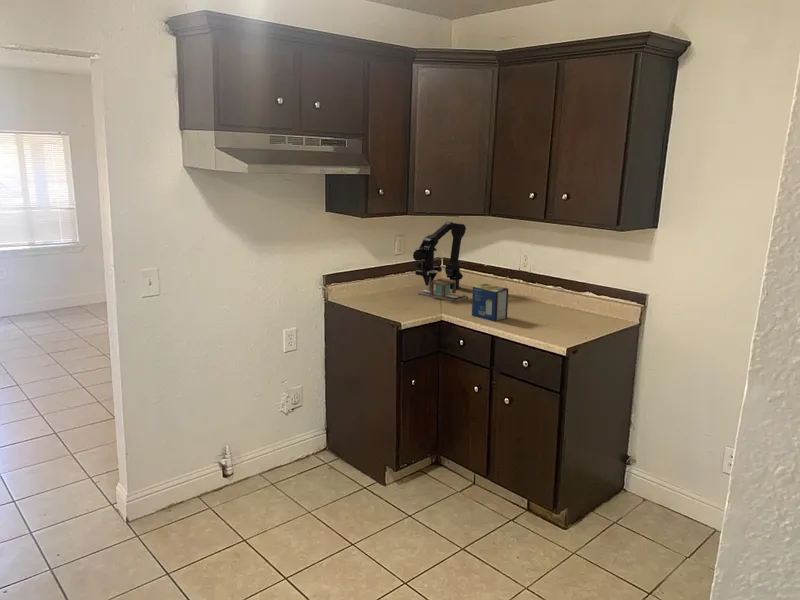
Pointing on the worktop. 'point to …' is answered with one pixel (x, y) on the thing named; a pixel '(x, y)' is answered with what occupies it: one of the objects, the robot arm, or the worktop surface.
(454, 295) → the sled
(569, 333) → the worktop surface
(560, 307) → the worktop surface
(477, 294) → the protein box
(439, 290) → the teal block
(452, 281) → the tunnel
